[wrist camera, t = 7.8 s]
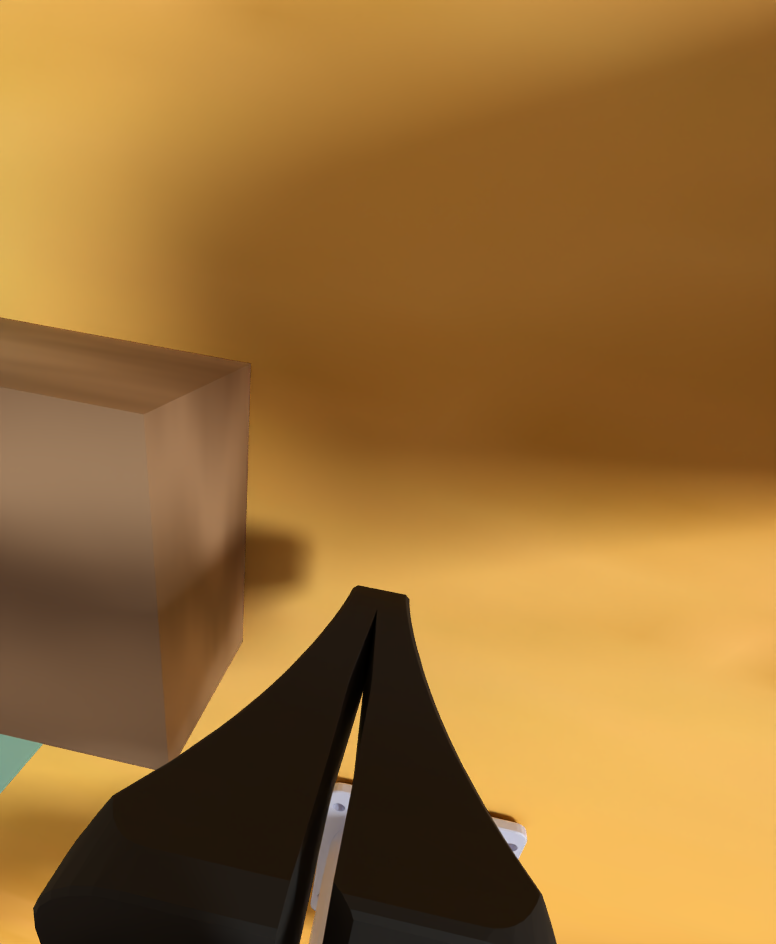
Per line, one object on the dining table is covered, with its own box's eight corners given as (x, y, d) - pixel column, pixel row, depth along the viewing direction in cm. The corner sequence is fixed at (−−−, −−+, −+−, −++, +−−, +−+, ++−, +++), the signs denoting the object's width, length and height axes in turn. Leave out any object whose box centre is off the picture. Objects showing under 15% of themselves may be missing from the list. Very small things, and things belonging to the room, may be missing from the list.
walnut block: (245, 636, 17) (169, 773, 12) (37, 591, 17) (-112, 708, 13) (254, 362, 13) (143, 414, 8) (-21, 311, 13) (-273, 334, 8)
